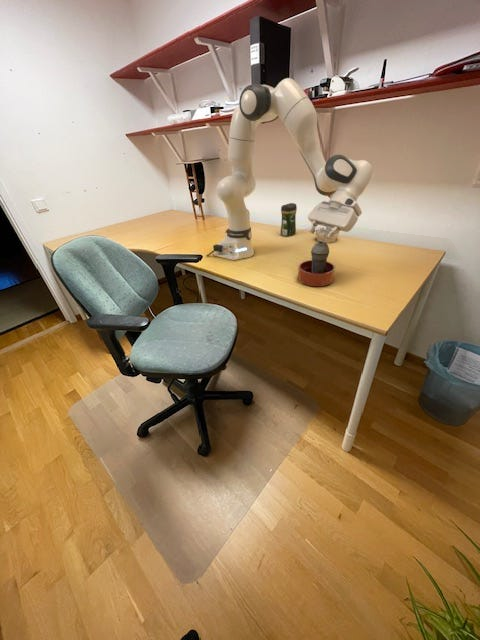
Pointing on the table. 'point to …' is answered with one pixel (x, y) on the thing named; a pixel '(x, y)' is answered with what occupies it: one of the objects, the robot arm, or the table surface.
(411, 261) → the table surface
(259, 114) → the robot arm
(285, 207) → the coffee jar
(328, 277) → the bowl
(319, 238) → the flag stand
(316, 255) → the beverage cup
